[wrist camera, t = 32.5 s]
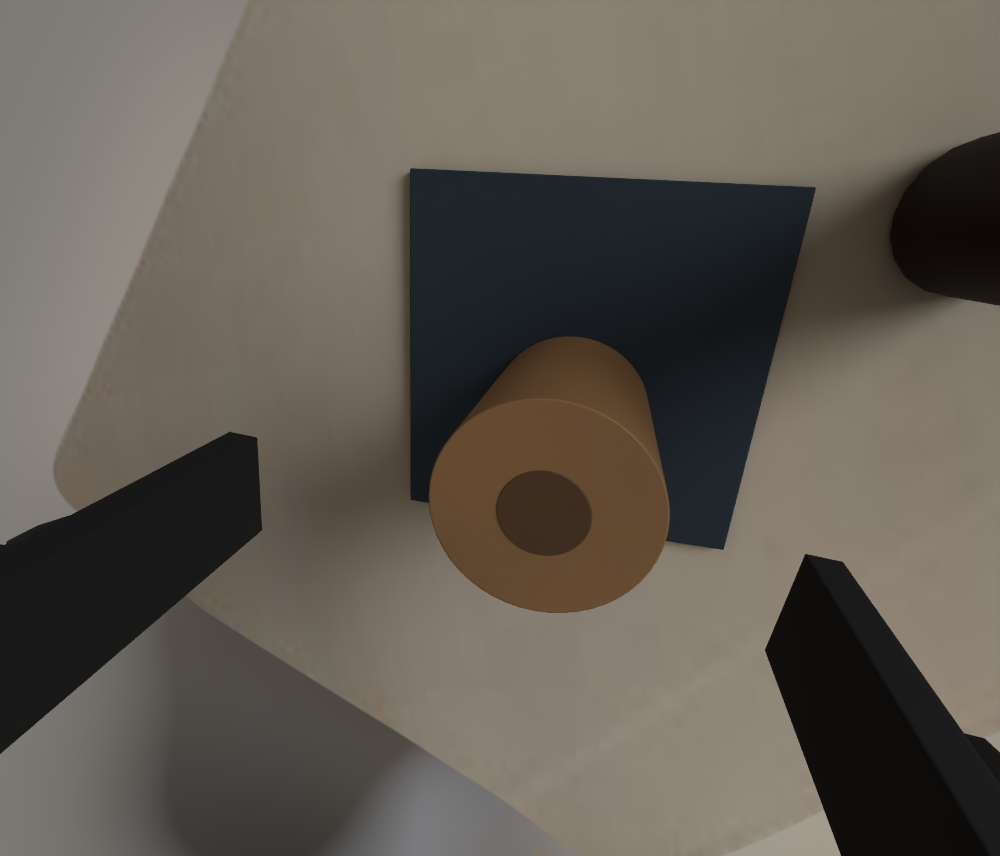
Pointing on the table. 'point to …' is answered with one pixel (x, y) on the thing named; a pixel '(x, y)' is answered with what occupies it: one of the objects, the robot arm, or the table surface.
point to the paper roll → (554, 481)
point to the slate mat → (606, 307)
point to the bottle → (953, 224)
